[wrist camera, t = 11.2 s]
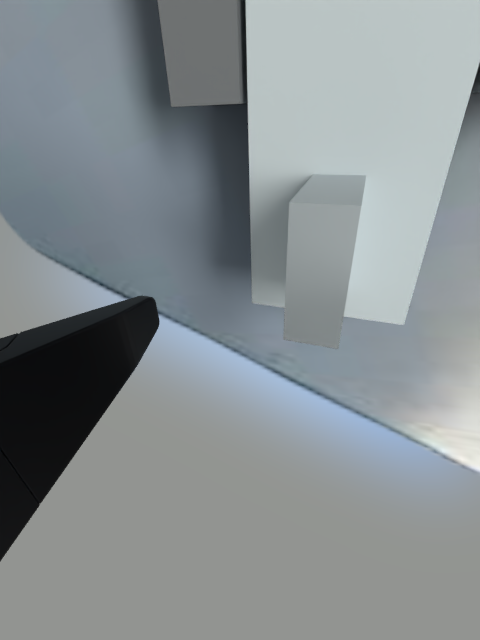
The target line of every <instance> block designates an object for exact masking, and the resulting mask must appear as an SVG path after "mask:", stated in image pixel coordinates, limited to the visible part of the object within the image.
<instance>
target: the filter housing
mask: <svg viewBox="0 0 480 640" xmlns="http://www.w3.org/2000/svg"><path fill="white" fill-rule="evenodd" d="M157 1H158V8H159V16H160V24H161V31H162V39H163V47H164V54H165V62H166V70H167V78H168V85H169V93H170V101H171V107H181V106H206V105H227V104H248V90H247V43H246V0H157ZM478 92H480V63H479V66H478V70H477V73H476V77H475V80H474V84H473V87H472V90H471V93H478Z"/></svg>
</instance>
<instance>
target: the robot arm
mask: <svg viewBox="0 0 480 640" xmlns="http://www.w3.org/2000/svg"><path fill="white" fill-rule="evenodd" d="M158 327H159V316H158V311H157V307H156V302H155V300H154V298H152V297H148V296H137V297H134V298H131V299H128V300H125V301H121V302H118V303H115V304H111V305H108V306H105V307H101V308H98V309H95V310H92V311H89V312H85V313H82V314H79V315H76V316H72V317H69V318H66V319H62V320H59V321H56V322H53V323H49V324H46V325H43V326H40V327H37V328H33V329H30V330H27V331H24V332H21V333H20V334H13V335H10V336H7V337H4V338H0V561H1V560H2V558H3V557H4V555H5V554H6V553H7V551H8V550H9V548H10V547H11V545H12V544H13V543H14V541H15V540H16V538H17V537H18V535H19V534H20V533H21V531H22V529H23V528H24V527H25V525H26V524H27V523H28V521H29V520H30V518H31V517H32V515H33V514H34V513H35V511H36V510H37V508H38V507H39V505H40V504H39V503H41V502H42V501H43V499H44V498H45V496H46V495H47V494H48V492H49V491H50V489H51V488H52V487H53V485H54V484H55V482H56V481H57V479H58V478H59V477H60V475H61V474H62V472H63V471H64V470H65V468H66V467H67V465H68V464H69V462H70V461H71V460H72V458H73V457H74V455H75V454H76V452H77V451H78V450H79V448H80V447H81V445H82V444H83V442H84V441H85V440H86V438H87V437H88V435H89V434H90V432H91V431H92V429H93V428H94V427H95V425H96V424H97V422H98V421H99V419H100V418H101V417H102V415H103V414H104V413H105V411H106V410H107V408H108V407H109V405H110V404H111V403H112V401H113V400H114V398H115V397H116V395H117V394H118V393H119V391H120V390H121V388H122V387H123V385H124V384H125V383H126V381H127V380H128V378H129V377H130V375H131V374H132V372H133V371H134V370H135V368H136V367H137V365H138V363H139V362H140V360H141V358H142V356H143V354H144V353H145V351H146V349H147V347H148V345H149V344H150V342H151V340H152V338H153V336H154V335H155V333H156V331H157V329H158Z"/></svg>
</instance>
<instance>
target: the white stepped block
mask: <svg viewBox="0 0 480 640" xmlns="http://www.w3.org/2000/svg"><path fill="white" fill-rule="evenodd" d="M246 43H247V90H248V137H249V183H250V230H251V276H252V303H255V304H261V305H268V306H275V307H282V308H285V314H284V337H283V340H289V341H295V342H300V343H306V344H312V345H318V346H323V347H329V348H335V349H338V347H339V341H340V335H341V329H342V323H343V317H344V316H345V317H352V318H358V319H365V320H372V321H379V322H386V323H393V324H400V325H404V323H405V319H406V316H407V312H408V309H409V305H410V302H411V298H412V295H413V291H414V288H415V284H416V281H417V278H418V274H419V271H420V267H421V264H422V260H423V257H424V253H425V250H426V246H427V243H428V239H429V236H430V232H431V229H432V226H433V222H434V219H435V215H436V212H437V208H438V205H439V201H440V198H441V194H442V191H443V187H444V184H445V181H446V177H447V174H448V170H449V167H450V163H451V160H452V156H453V153H454V149H455V146H456V142H457V139H458V135H459V132H460V129H461V125H462V122H463V118H464V115H465V111H466V108H467V104H468V101H469V97H470V94H471V90H472V87H473V84H474V80H475V77H476V73H477V70H478V66H479V63H480V0H246Z"/></svg>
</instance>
